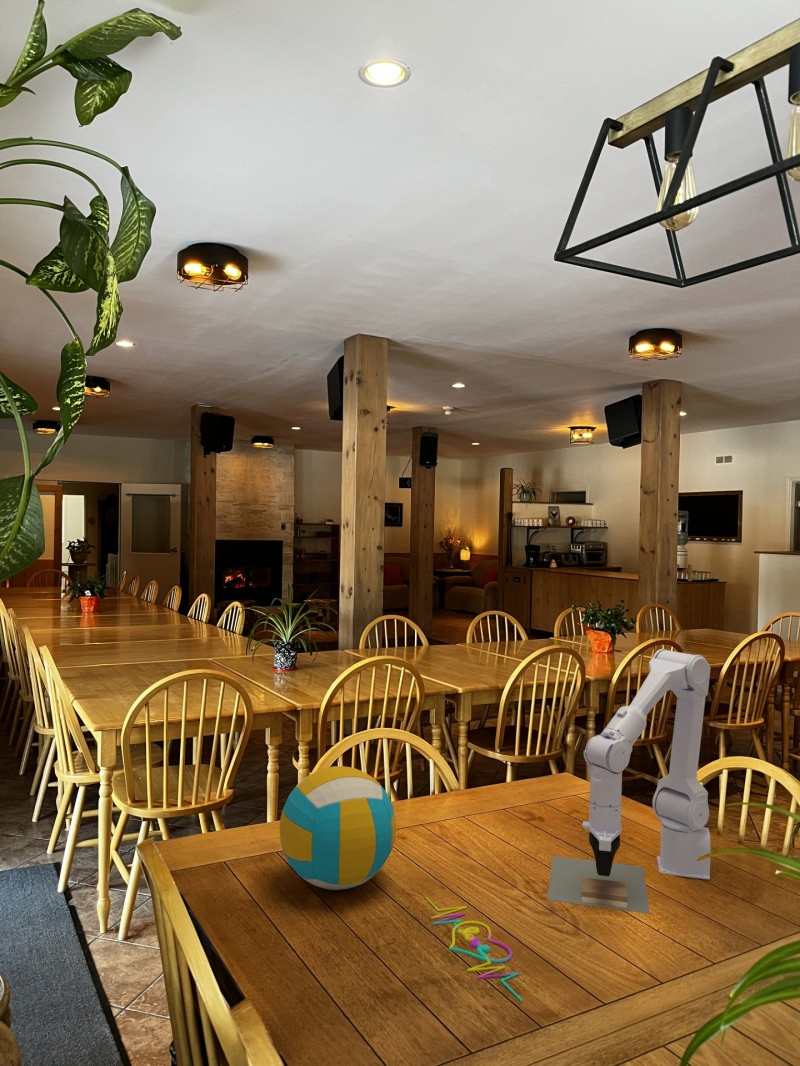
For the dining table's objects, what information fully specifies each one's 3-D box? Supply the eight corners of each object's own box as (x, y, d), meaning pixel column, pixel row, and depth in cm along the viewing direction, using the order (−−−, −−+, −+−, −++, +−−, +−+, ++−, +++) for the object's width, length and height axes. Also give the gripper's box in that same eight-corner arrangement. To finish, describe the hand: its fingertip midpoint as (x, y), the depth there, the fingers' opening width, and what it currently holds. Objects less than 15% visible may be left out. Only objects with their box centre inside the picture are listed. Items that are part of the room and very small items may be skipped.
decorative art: (499, 1009, 114) (558, 993, 118) (500, 1003, 114) (558, 987, 118) (403, 905, 145) (452, 895, 149) (403, 900, 145) (452, 890, 149)
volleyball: (414, 899, 146) (416, 779, 146) (298, 921, 137) (300, 794, 137) (369, 853, 166) (371, 747, 166) (265, 869, 157) (267, 758, 157)
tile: (626, 882, 150) (627, 896, 144) (625, 893, 150) (627, 908, 144) (582, 877, 152) (581, 891, 146) (582, 887, 152) (581, 902, 146)
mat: (643, 868, 162) (643, 866, 162) (649, 915, 142) (649, 913, 142) (552, 857, 166) (552, 856, 166) (546, 902, 146) (546, 899, 146)
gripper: (583, 787, 157) (582, 856, 157) (582, 813, 143) (580, 888, 143) (621, 791, 155) (619, 860, 156) (623, 817, 141) (621, 893, 142)
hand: (603, 874), depth 149 cm, fingers closed
